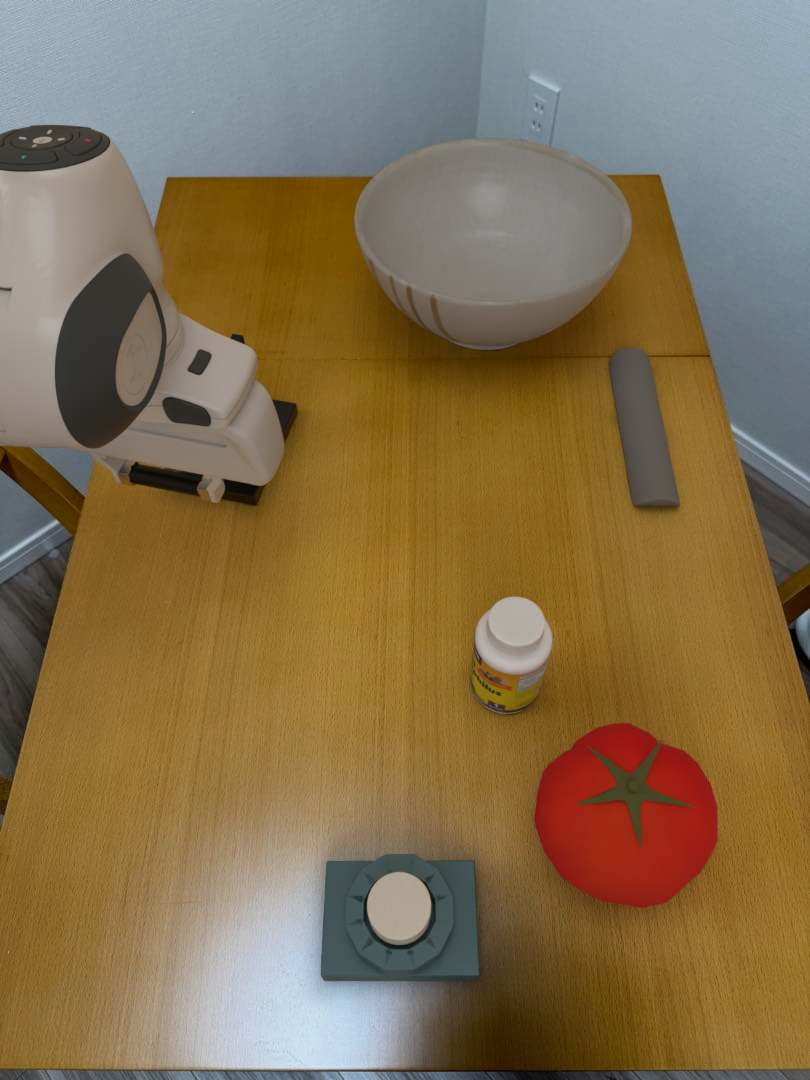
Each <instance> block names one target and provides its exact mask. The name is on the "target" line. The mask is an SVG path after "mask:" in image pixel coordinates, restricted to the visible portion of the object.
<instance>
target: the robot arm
mask: <svg viewBox="0 0 810 1080" xmlns="http://www.w3.org/2000/svg"><path fill="white" fill-rule="evenodd" d="M117 145H118V144H117V143H116V142H115V141H114V140H113V139H112V138H111V137H110V136H108V135H107V134H106V133H103V132H101V131H98V130H96V129H92V128H91V127H89V126H82V125H68V124H35V125H33V124H32V125H29V126H24V127H21V128H13V129H10V130H7V131H5V132H2V133H0V447H21V448H43V449H69V450H74V451H79V452H85V453H89V455H90V457H91V458H92V459H93V460H95V461H96V462H97V463H98V464H100V465H101V466H103V467H104V468H105V469H106V470H108V471H109V472H111V475H112V477H113V479H114V480H115V483H116V484H118V485H125V486H131V487H135V486H136V485H137V484H134V483H133V482H132V480H131V473H132V469H133V467H134V466H135V465H136V464H144V465H150V466H155V467H160V468H165V467H166V468H171V469H176V470H181V471H186V472H191V473H197V474H202V475H203V477H202V480H203V481H201V482H200V483H199V485H198V487H197V491H198V494H199V495H200V497H199V500H201V501H205V502H210V503H214V504H219V503H220V502H221V500H222V499H221V498H222V496H223V494H224V491H225V485H224V481H223V479H227V480H233V481H238V482H243V483H248V484H252V485H257V486H263V485H265V484H266V485H267V484H268V483H269V482H271V480H273V478H274V477H275V476H276V473H277V471H278V469H279V468H280V465H281V462H282V460H283V457H284V454H285V442H284V439H283V434H282V430H281V426H280V422H279V419H278V415H277V412H276V409H275V406H274V404H273V401H272V399H273V398H272V396H271V395H270V393H269V391H268V390H267V388H266V387H265V386H264V385H263V384H262V383H261V382H260V381H258V380H257V379H255V377H256V374H257V371H258V368H259V359H258V355H257V353H256V351H255V350H254V349H253V348H252V347H250V346H249V345H247V344H246V343H245V344H242V343H240V342H238V341H235V340H233V339H230V337H228V336H226V335H223V334H221V333H219V332H217V331H214V330H212V329H211V328H208V327H206V326H204V325H202V324H201V323H199V322H197V321H196V320H194V319H192V318H190V317H189V316H187V315H185V314H184V313H181V312H179V310H178V308H177V305H176V303H175V300H174V299H173V297H172V295H171V294H170V293H169V291H168V290H167V288H166V287H165V284H164V260H163V254H162V251H161V248H160V244H159V241H158V238H157V235H156V232H155V228H154V226H153V222H152V220H151V217H150V214H149V211H148V208H147V205H146V203H145V200H144V198H143V195H142V192H141V191H140V188H139V186H138V183H137V181H136V179H135V176H134V175H133V172H132V170H131V168H130V166H129V164H128V162H127V160H126V158H125V156H124V155H123V153H122V151H121V149H120V148H119V147H118V146H117ZM266 485H265V486H266Z"/></svg>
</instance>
